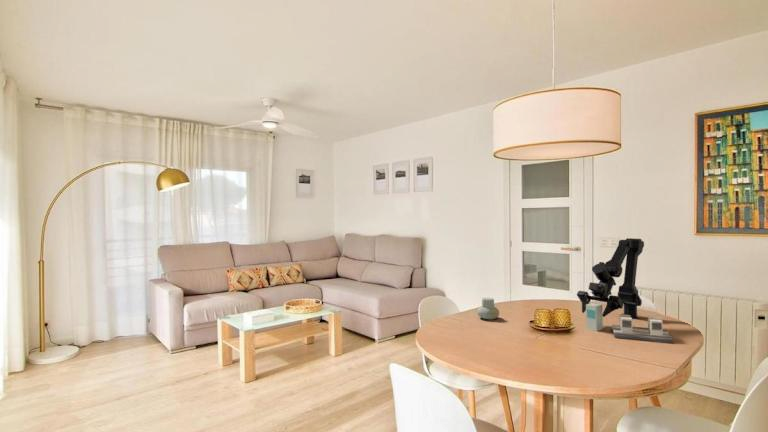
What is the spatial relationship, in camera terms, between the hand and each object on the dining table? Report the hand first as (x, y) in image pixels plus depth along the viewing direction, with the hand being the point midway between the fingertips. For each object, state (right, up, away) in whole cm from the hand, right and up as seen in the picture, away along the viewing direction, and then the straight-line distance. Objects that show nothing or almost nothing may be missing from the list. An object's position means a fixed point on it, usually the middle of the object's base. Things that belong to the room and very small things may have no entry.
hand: (592, 314), depth 178 cm
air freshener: (-41, -8, +23) cm, 48 cm away
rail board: (+15, -6, -11) cm, 19 cm away
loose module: (+1, -7, +1) cm, 7 cm away
